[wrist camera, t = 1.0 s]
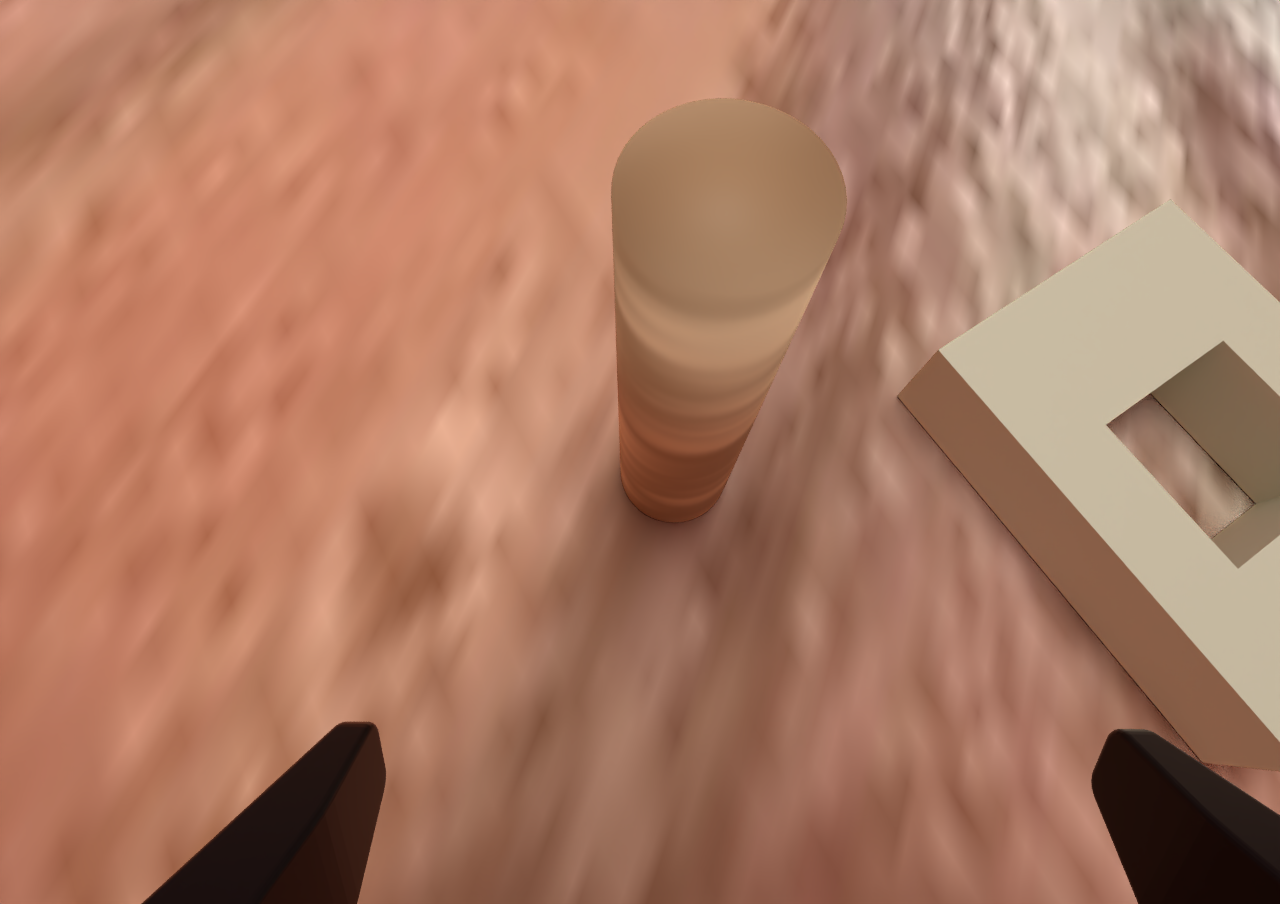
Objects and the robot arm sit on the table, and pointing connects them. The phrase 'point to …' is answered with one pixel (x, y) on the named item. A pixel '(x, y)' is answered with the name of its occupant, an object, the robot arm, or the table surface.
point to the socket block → (1137, 465)
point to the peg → (710, 286)
